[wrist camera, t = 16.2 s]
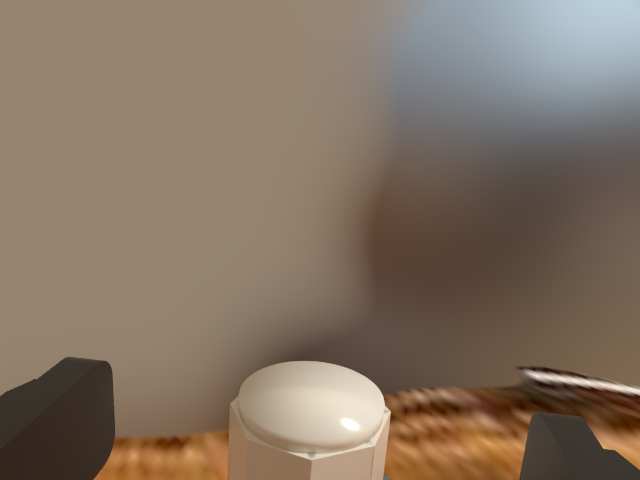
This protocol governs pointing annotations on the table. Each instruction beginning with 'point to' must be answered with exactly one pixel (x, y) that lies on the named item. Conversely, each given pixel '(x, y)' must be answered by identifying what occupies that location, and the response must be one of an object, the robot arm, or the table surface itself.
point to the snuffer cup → (307, 425)
